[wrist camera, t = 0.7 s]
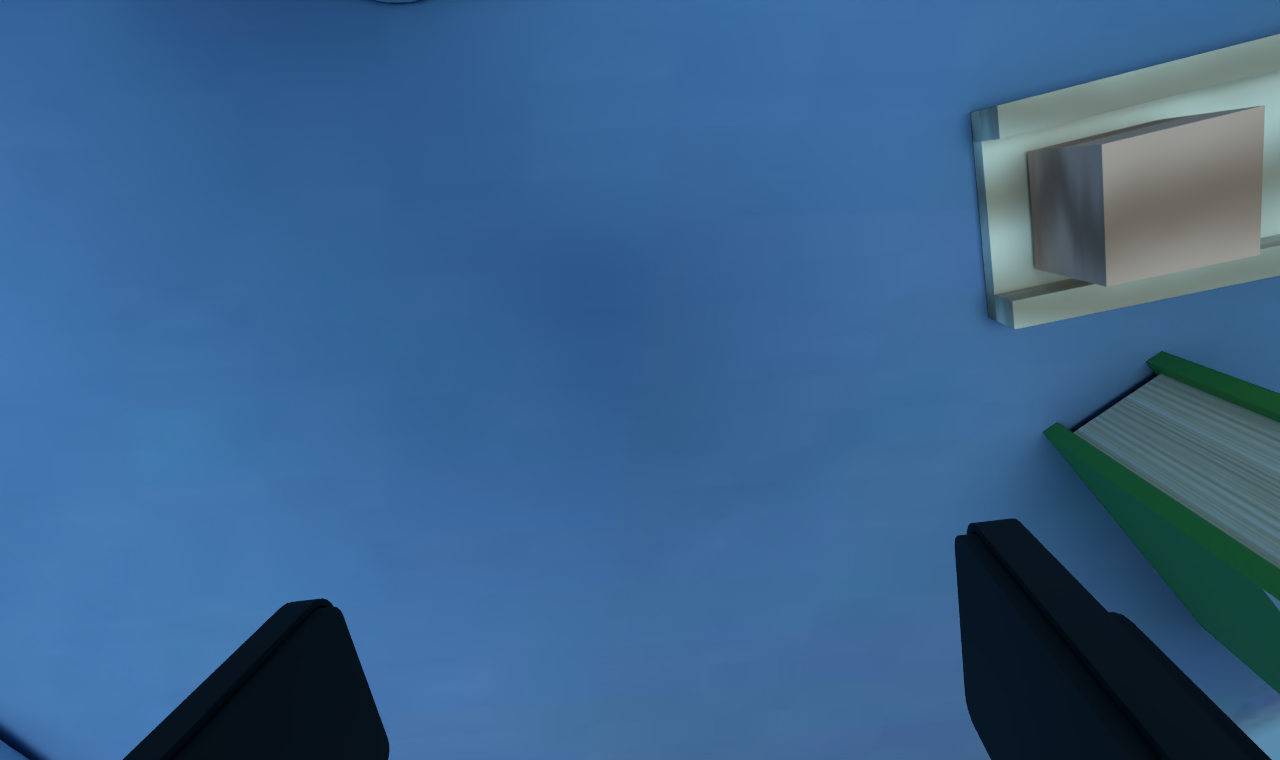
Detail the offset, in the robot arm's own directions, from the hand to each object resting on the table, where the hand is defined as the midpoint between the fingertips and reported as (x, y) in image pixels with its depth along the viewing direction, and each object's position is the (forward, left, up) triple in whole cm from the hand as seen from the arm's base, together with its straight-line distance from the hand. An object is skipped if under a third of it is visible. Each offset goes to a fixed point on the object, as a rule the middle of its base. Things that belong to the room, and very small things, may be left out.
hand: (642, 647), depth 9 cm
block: (-1, +22, -27) cm, 35 cm away
